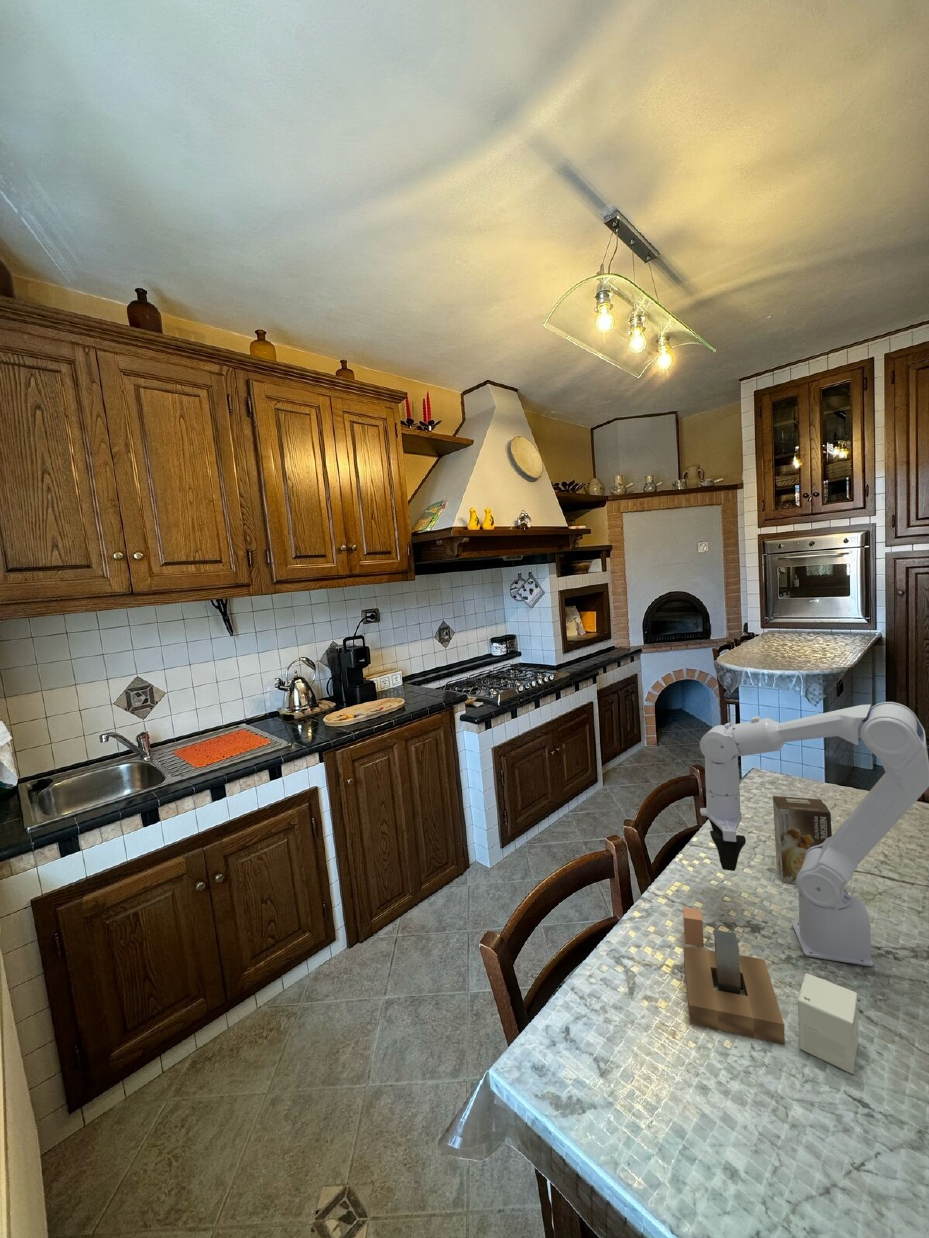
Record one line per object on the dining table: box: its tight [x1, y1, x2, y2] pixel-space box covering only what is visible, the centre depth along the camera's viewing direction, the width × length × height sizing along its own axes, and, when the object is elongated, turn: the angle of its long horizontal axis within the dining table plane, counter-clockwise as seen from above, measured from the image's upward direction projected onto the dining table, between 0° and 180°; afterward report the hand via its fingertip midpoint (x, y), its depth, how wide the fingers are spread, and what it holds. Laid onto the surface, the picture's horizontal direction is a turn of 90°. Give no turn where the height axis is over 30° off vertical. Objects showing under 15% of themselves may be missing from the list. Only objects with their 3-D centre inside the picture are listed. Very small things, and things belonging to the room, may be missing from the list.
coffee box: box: [772, 795, 833, 885], centre depth 102 cm, size 9×6×16 cm
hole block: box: [682, 945, 786, 1045], centre depth 76 cm, size 12×12×3 cm
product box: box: [797, 972, 860, 1075], centre depth 67 cm, size 6×6×7 cm
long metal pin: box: [713, 929, 742, 995], centre depth 75 cm, size 3×3×10 cm
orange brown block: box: [682, 906, 705, 948], centre depth 88 cm, size 3×3×5 cm
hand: (725, 857), depth 94 cm, fingers open, 7 cm apart
